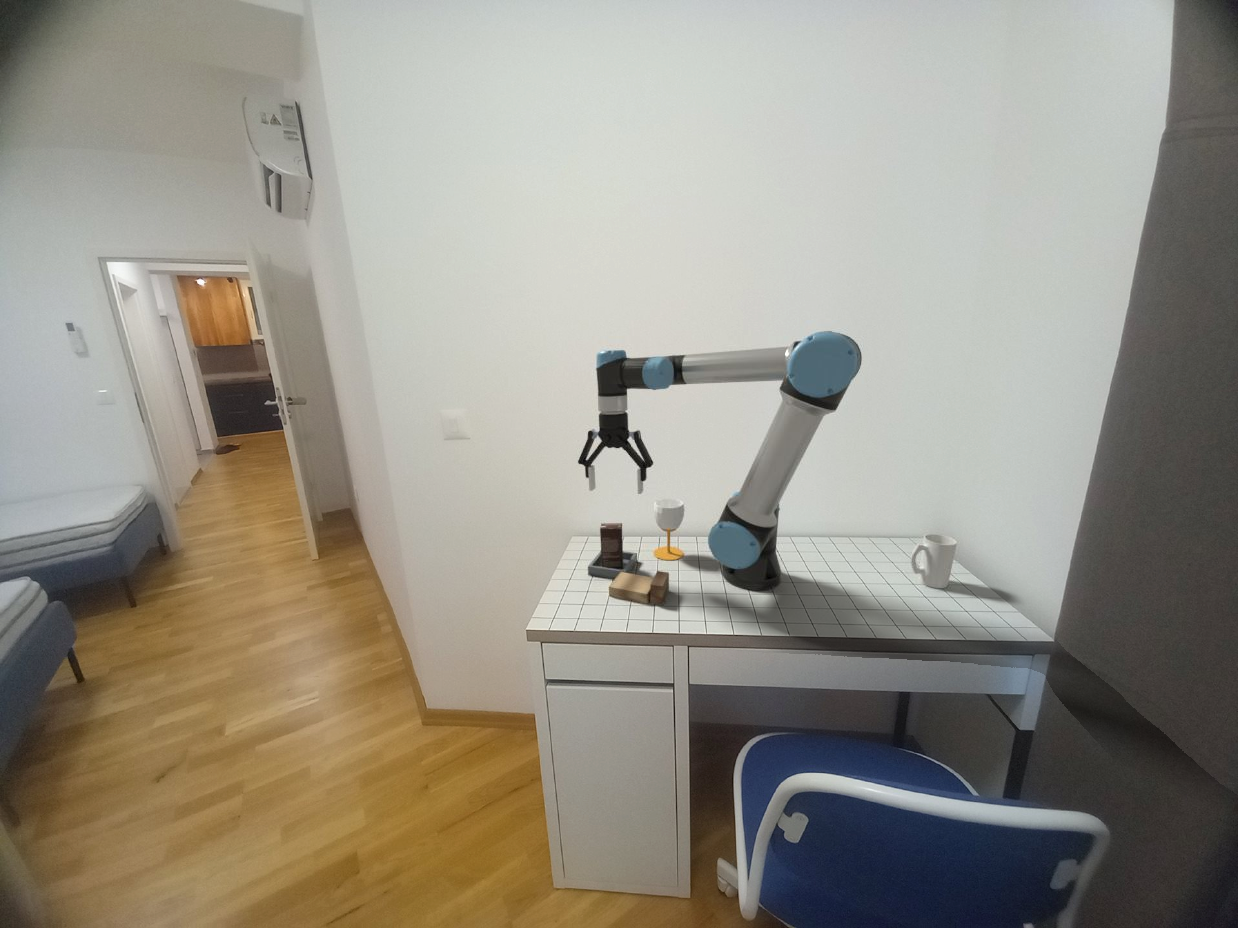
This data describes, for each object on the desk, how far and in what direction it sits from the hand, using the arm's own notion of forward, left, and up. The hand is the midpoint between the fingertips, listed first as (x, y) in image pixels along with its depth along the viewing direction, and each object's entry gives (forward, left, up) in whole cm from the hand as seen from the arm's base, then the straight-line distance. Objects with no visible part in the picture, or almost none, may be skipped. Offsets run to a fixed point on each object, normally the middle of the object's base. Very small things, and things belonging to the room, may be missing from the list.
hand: (616, 491), depth 120 cm
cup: (-12, -13, -23) cm, 29 cm away
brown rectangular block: (-15, +11, -23) cm, 29 cm away
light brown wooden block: (-8, +11, -23) cm, 27 cm away
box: (+2, 0, -22) cm, 22 cm away
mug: (-79, -15, -23) cm, 83 cm away
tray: (+1, 0, -23) cm, 23 cm away
